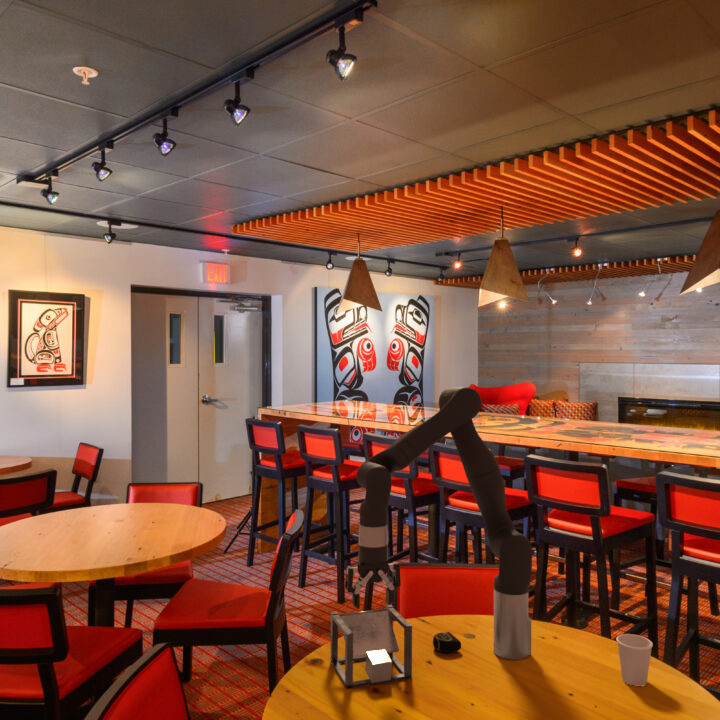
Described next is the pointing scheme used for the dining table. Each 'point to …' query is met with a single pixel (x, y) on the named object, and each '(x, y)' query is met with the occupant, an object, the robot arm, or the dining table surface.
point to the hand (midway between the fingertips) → (372, 605)
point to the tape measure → (446, 642)
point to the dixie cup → (634, 658)
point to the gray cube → (378, 666)
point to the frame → (348, 659)
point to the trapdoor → (370, 631)
